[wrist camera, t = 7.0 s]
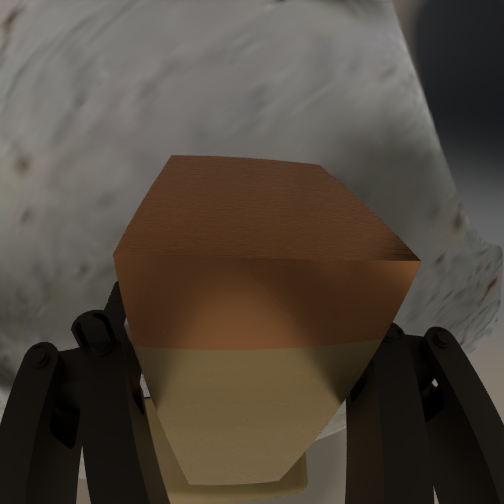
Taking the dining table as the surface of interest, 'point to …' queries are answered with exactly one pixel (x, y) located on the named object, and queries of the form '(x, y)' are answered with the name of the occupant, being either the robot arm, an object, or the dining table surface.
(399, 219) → the dining table surface
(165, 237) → the two-tone wooden block
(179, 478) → the cheese
